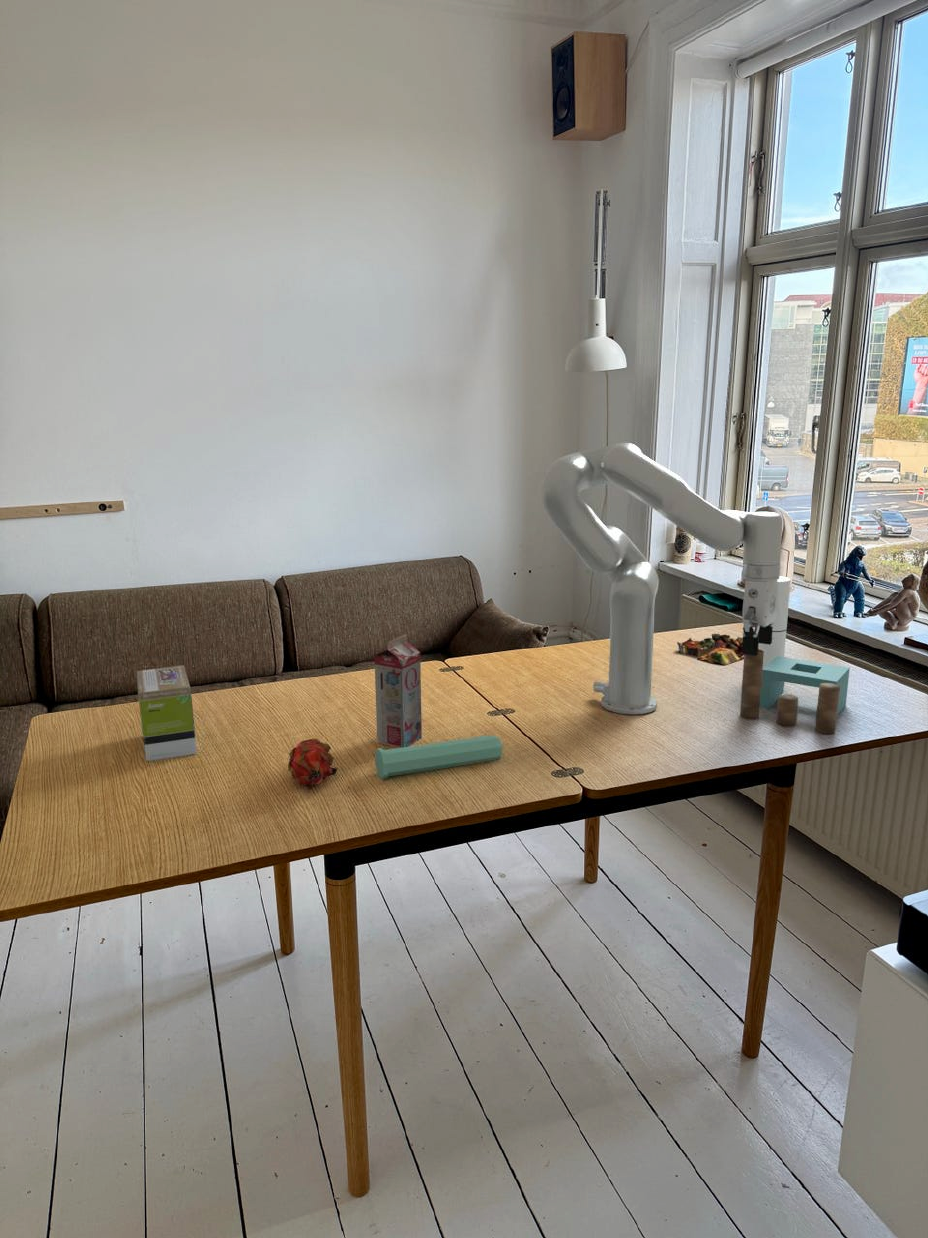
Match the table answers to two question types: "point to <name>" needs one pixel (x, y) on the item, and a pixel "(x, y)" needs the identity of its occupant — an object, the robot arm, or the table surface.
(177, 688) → the tea box
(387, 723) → the juice carton
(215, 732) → the table surface
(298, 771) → the dragon fruit
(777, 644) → the cylindrical container
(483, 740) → the container
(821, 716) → the medium pin
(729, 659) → the food
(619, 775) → the table surface
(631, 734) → the table surface
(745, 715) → the tall pin
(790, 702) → the short pin
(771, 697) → the teal bridge
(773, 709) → the table surface
